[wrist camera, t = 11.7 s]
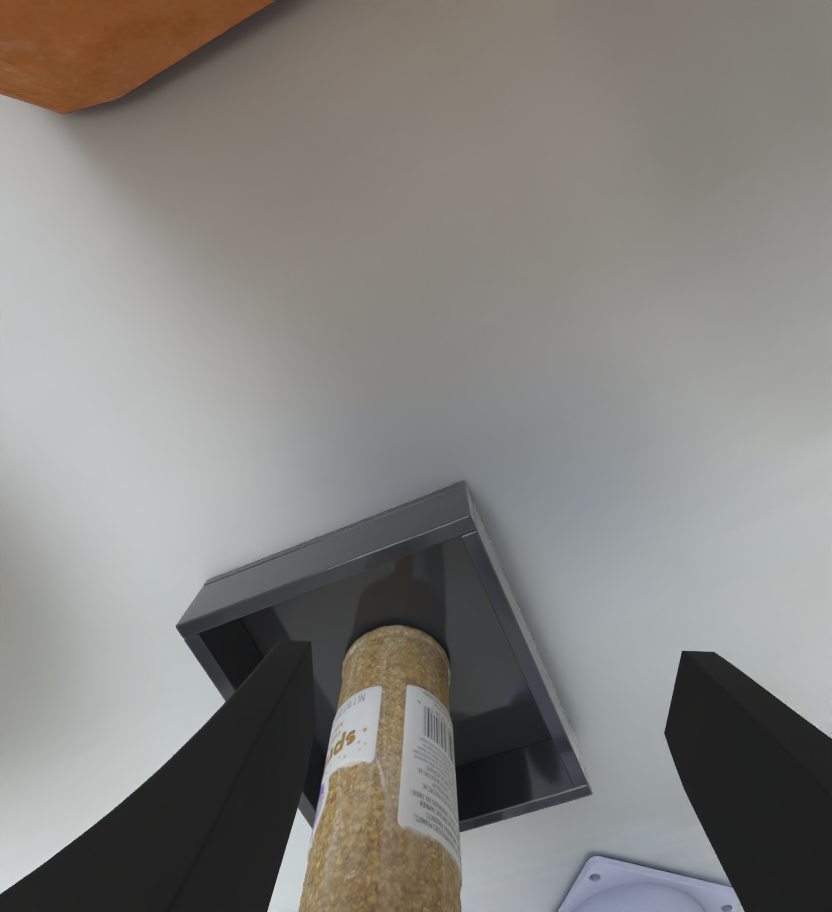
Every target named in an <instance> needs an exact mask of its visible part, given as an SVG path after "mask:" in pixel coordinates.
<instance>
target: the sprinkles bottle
mask: <svg viewBox="0 0 832 912" xmlns="http://www.w3.org/2000/svg"><path fill="white" fill-rule="evenodd" d="M342 679H343V681H342V687H341V692H340V696H339V701H338V707H337V712H336V716H335V718H334V721H333V725H332V730H331V735H330V740H329V746H328V752H327V757H326V763H325V768H324V774H323V779H322V784H321V789H320V795H319V800H318V805H317V811H316V815H315V820H314V825H313V830H312V835H311V840H310V845H309V850H308V866H307V871H306V876H305V881H304V883H303V892H302V896H301V901H300V907H299V912H461V900H460V891H461V886H462V867H461V852H460V837H459V821H458V805H457V788H456V772H455V756H454V741H453V726H452V721H451V718H450V713H449V685H450V679H451V669H450V663H449V660H448V658H447V655H446V652H445V651H444V649H443V648H442V647H441V646H440V644H439V643H438V642H437V641H436V640H435V639H434V638H433V637H431V636H430V635H428V634H427V633H425V632H423V631H421V630H418V629H414V628H411V627H408V626H402V625H392V626H383V627H380V628H377V629H375V630H373V631H371V632H368V633H365V634H364V635H363V636H362V637H360V638H358V639H357V640H356V641H355V642H354V643H353V644H352V646H351V647H350V649H349V650H348V653H347V654H346V656H345V659H344V661H343V670H342Z"/></svg>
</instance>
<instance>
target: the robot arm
mask: <svg viewBox="0 0 832 912" xmlns="http://www.w3.org/2000/svg"><path fill="white" fill-rule="evenodd" d="M315 726H316V716H315V698H314V680H313V662H312V644H311V641H292V640H280V641H279V642H278V643H277V644H276V645H275V646H274V647H273V648H272V649H271V650H270V652H269V653H268V654H267V655H266V656H265V658H264V659H263V660H262V661H261V662H260V663H259V665H258V666H257V667H256V668H255V669H254V671H253V672H252V673H251V674H250V675H249V676H248V678H247V679H246V680H245V681H244V682H243V683H242V684H241V686H240V687H239V688H238V689H237V690H236V691H235V692H234V693H233V695H232V696H231V697H230V698H229V699H228V700H227V701H226V702H225V703H224V704H223V705H222V707H221V708H220V709H219V710H218V711H217V712H216V713H215V714H214V715H213V716H212V717H211V718H210V720H209V721H208V722H207V723H206V724H205V725H204V726H203V727H202V728H201V729H200V730H199V731H198V732H197V733H196V734H195V735H194V736H193V737H192V738H191V739H190V740H189V741H188V742H187V743H186V744H185V745H184V746H183V747H182V748H181V749H180V750H179V751H178V752H177V753H176V754H175V755H174V756H173V757H172V758H171V759H170V760H168V761H167V762H166V763H165V764H164V765H163V766H162V767H161V768H160V769H159V770H158V771H157V772H156V773H154V774H153V775H152V776H151V777H150V778H149V779H148V780H147V781H146V782H145V783H143V784H142V785H141V786H140V787H139V788H138V789H137V790H135V791H134V792H133V793H132V794H131V795H130V796H129V797H127V798H126V799H125V800H124V801H123V802H122V803H120V804H119V805H118V806H117V807H116V808H114V809H113V810H112V811H111V812H110V813H108V814H107V815H106V816H105V817H103V818H102V819H101V820H100V821H98V822H97V823H96V824H95V825H93V826H92V827H91V828H90V829H88V830H87V831H86V832H85V833H83V834H82V835H81V836H79V837H78V838H77V839H75V840H74V841H73V842H71V843H70V844H69V845H68V846H66V847H65V848H64V849H62V850H61V851H60V852H58V853H57V854H56V855H54V856H53V857H52V858H51V859H49V860H48V861H47V862H45V863H44V864H43V865H41V866H40V867H38V868H37V869H36V870H34V871H33V872H31V873H30V874H29V875H27V876H26V877H24V878H23V879H21V880H20V881H19V882H17V883H16V884H14V885H13V886H11V887H10V888H9V889H7V890H6V891H4V892H3V893H1V894H0V912H267V910H268V907H269V903H270V900H271V897H272V893H273V890H274V886H275V883H276V880H277V876H278V873H279V869H280V866H281V863H282V859H283V856H284V852H285V849H286V845H287V842H288V839H289V835H290V832H291V828H292V825H293V822H294V818H295V815H296V811H297V808H298V804H299V801H300V797H301V794H302V790H303V787H304V783H305V780H306V776H307V770H308V765H309V760H310V754H311V749H312V743H313V737H314V731H315ZM664 734H665V737H666V740H667V743H668V746H669V749H670V752H671V755H672V757H673V760H674V763H675V766H676V769H677V771H678V774H679V777H680V779H681V782H682V785H683V787H684V790H685V792H686V794H687V796H688V798H689V800H690V802H691V804H692V806H693V808H694V811H695V813H696V815H697V817H698V819H699V821H700V823H701V825H702V827H703V829H704V831H705V833H706V835H707V837H708V839H709V841H710V843H711V845H712V847H713V849H714V851H715V853H716V855H717V857H718V859H719V861H720V863H721V865H722V867H723V869H724V871H725V873H726V875H727V877H728V879H729V881H730V883H731V885H732V887H733V888H732V887H729V886H724V885H720V884H716V883H712V882H707V881H703V880H699V879H695V878H690V877H686V876H682V875H678V874H673V873H669V872H665V871H661V870H656V869H652V868H648V867H644V866H639V865H635V864H631V863H627V862H622V861H618V860H614V859H610V858H606V857H601V856H593V857H591V858H590V859H589V860H588V861H587V862H586V864H585V866H584V867H583V869H582V871H581V873H580V874H579V876H578V878H577V879H576V881H575V883H574V885H573V886H572V888H571V890H570V891H569V893H568V895H567V897H566V898H565V900H564V902H563V903H562V905H561V907H560V909H559V910H558V912H734V911H735V909H736V908H737V907H738V905H739V904H740V903H741V905H742V907H743V909H744V911H745V912H832V739H831V738H830V737H829V736H827V735H826V734H824V733H823V732H822V731H820V730H819V729H818V728H816V727H815V726H814V725H812V724H811V723H809V722H808V721H807V720H805V719H804V718H803V717H801V716H800V715H799V714H797V713H796V712H795V711H793V710H792V709H791V708H789V707H788V706H787V705H785V704H784V703H783V702H781V701H780V700H779V699H777V698H776V697H775V696H773V695H772V694H771V693H769V692H768V691H767V690H766V689H764V688H763V687H762V686H760V685H759V684H758V683H756V682H755V681H754V680H752V679H751V678H750V677H748V676H747V675H746V674H744V673H743V672H742V671H740V670H739V669H738V668H736V667H735V666H733V665H732V664H731V663H729V662H728V661H726V660H725V659H724V658H722V657H721V656H719V655H718V654H716V653H715V652H699V651H682V654H681V658H680V663H679V668H678V672H677V677H676V681H675V686H674V691H673V695H672V700H671V705H670V709H669V714H668V718H667V723H666V728H665V732H664Z"/></svg>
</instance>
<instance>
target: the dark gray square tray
mask: <svg viewBox="0 0 832 912" xmlns="http://www.w3.org/2000/svg"><path fill="white" fill-rule="evenodd" d="M392 625H402V626H408V627H411V628H414V629H418V630H421V631H423V632H425V633H427V634H428V635H430V636H431V637H433V638H434V639H435V640H436V641H437V642H438V643H439V644H440V646H441V647H442V648H443V649H444V651H445V652H446V655H447V658H448V660H449V663H450V669H451V679H450V685H449V713H450V718H451V721H452V726H453V741H454V756H455V772H456V788H457V805H458V821H459V833H460V832H464V831H467V830H471V829H474V828H478V827H481V826H485V825H488V824H492V823H495V822H499V821H502V820H505V819H509V818H512V817H516V816H519V815H523V814H526V813H530V812H533V811H537V810H540V809H544V808H547V807H551V806H554V805H558V804H561V803H565V802H568V801H572V800H575V799H579V798H582V797H586V796H589V795H592V789H591V786H590V783H589V780H588V777H587V773H586V770H585V767H584V764H583V761H582V757H581V754H580V751H579V748H578V745H577V741H576V738H575V735H574V732H573V730H572V728H571V725H570V723H569V721H568V718H567V716H566V714H565V711H564V709H563V707H562V705H561V702H560V700H559V698H558V695H557V693H556V691H555V688H554V686H553V684H552V681H551V679H550V677H549V674H548V672H547V670H546V668H545V665H544V663H543V661H542V658H541V656H540V654H539V651H538V649H537V647H536V644H535V642H534V640H533V637H532V635H531V633H530V631H529V628H528V626H527V624H526V621H525V619H524V617H523V614H522V612H521V610H520V607H519V605H518V603H517V601H516V598H515V596H514V594H513V591H512V589H511V587H510V584H509V582H508V580H507V577H506V575H505V573H504V570H503V568H502V566H501V564H500V561H499V559H498V557H497V554H496V552H495V550H494V547H493V545H492V543H491V540H490V538H489V536H488V534H487V531H486V529H485V527H484V524H483V522H482V520H481V517H480V515H479V513H478V510H477V508H476V506H475V503H474V501H473V499H472V497H471V494H470V492H469V490H468V487H467V485H466V483H465V481H462V482H460V483H457V484H454V485H452V486H449V487H447V488H444V489H442V490H439V491H436V492H434V493H431V494H429V495H426V496H424V497H421V498H418V499H416V500H413V501H411V502H408V503H405V504H403V505H400V506H398V507H395V508H393V509H390V510H387V511H385V512H382V513H380V514H377V515H375V516H372V517H369V518H367V519H364V520H362V521H359V522H357V523H354V524H351V525H349V526H346V527H344V528H341V529H339V530H336V531H333V532H331V533H328V534H326V535H323V536H321V537H318V538H315V539H313V540H310V541H308V542H305V543H303V544H300V545H297V546H295V547H292V548H290V549H287V550H285V551H282V552H279V553H277V554H274V555H272V556H269V557H267V558H264V559H261V560H259V561H256V562H254V563H251V564H249V565H246V566H243V567H241V568H238V569H236V570H233V571H230V572H228V573H225V574H223V575H220V576H218V577H215V578H212V579H210V580H207V581H206V583H205V584H204V586H203V588H202V589H201V590H200V592H199V593H198V595H197V596H196V598H195V599H194V600H193V602H192V603H191V605H190V606H189V608H188V609H187V610H186V612H185V613H184V615H183V616H182V618H181V619H180V621H179V622H178V623H177V625H176V628H177V630H178V631H179V633H180V634H181V636H182V637H183V638H185V639H184V641H185V642H186V644H187V645H188V647H189V648H190V650H191V651H192V653H193V654H194V655H195V657H196V658H197V660H198V661H199V663H200V664H201V666H202V667H203V669H204V670H205V672H206V673H207V675H208V676H209V678H210V679H211V680H212V682H213V683H214V685H215V686H216V688H217V689H218V691H219V692H220V694H221V695H222V697H223V698H224V700H225V701H227V700H228V699H229V698H230V697H231V696H232V695H233V693H234V692H235V691H236V690H237V689H238V688H239V687H240V686H241V684H242V683H243V682H244V681H245V680H246V679H247V678H248V676H249V675H250V674H251V673H252V672H253V671H254V669H255V668H256V667H257V666H258V665H259V663H260V662H261V661H262V660H263V659H264V658H265V656H266V655H267V654H268V653H269V652H270V650H271V649H272V648H273V647H274V646H275V645H276V644H277V643H278V642H279V641H280V640H292V641H311V644H312V662H313V680H314V698H315V716H316V726H315V731H314V737H313V743H312V749H311V754H310V760H309V765H308V770H307V776H306V780H305V783H304V787H303V790H302V794H301V797H300V801H299V804H298V808H299V810H300V811H301V813H302V814H303V816H304V817H305V819H306V820H307V822H308V823H309V825H310V826H311V828H312V829H313V825H314V820H315V815H316V811H317V805H318V800H319V795H320V789H321V784H322V779H323V774H324V768H325V763H326V757H327V752H328V746H329V740H330V735H331V730H332V725H333V721H334V718H335V716H336V712H337V707H338V701H339V696H340V692H341V687H342V681H343V679H342V670H343V661H344V659H345V656H346V654H347V653H348V650H349V649H350V647H351V646H352V644H353V643H354V642H355V641H356V640H357V639H358V638H360V637H362V636H363V635H364V634H365V633H368V632H371V631H373V630H375V629H377V628H380V627H383V626H392Z"/></svg>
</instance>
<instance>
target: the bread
mask: <svg viewBox="0 0 832 912" xmlns="http://www.w3.org/2000/svg"><path fill="white" fill-rule="evenodd" d="M274 1H276V0H0V94H2V95H5V96H9V97H12V98H15V99H18V100H21V101H24V102H27V103H31V104H34V105H37V106H40V107H43V108H46V109H50V110H53V111H56V112H59V113H62V114H65V113H68V112H72V111H76V110H79V109H83V108H87V107H90V106H94V105H98V104H101V103H105V102H108V101H112V100H116V99H119V98H120V97H122V96H123V95H125V94H127V93H128V92H130V91H131V90H133V89H135V88H136V87H138V86H139V85H141V84H143V83H144V82H146V81H147V80H149V79H150V78H152V77H154V76H155V75H157V74H158V73H160V72H162V71H163V70H165V69H166V68H168V67H170V66H171V65H173V64H174V63H176V62H178V61H179V60H181V59H182V58H184V57H185V56H187V55H189V54H190V53H192V52H193V51H195V50H197V49H198V48H200V47H201V46H203V45H205V44H206V43H208V42H209V41H211V40H213V39H214V38H216V37H217V36H219V35H220V34H222V33H224V32H225V31H227V30H228V29H230V28H232V27H233V26H235V25H236V24H238V23H240V22H241V21H243V20H244V19H246V18H248V17H249V16H251V15H253V14H254V13H256V12H257V11H259V10H261V9H262V8H264V7H266V6H267V5H269V4H271V3H272V2H274Z"/></svg>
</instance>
